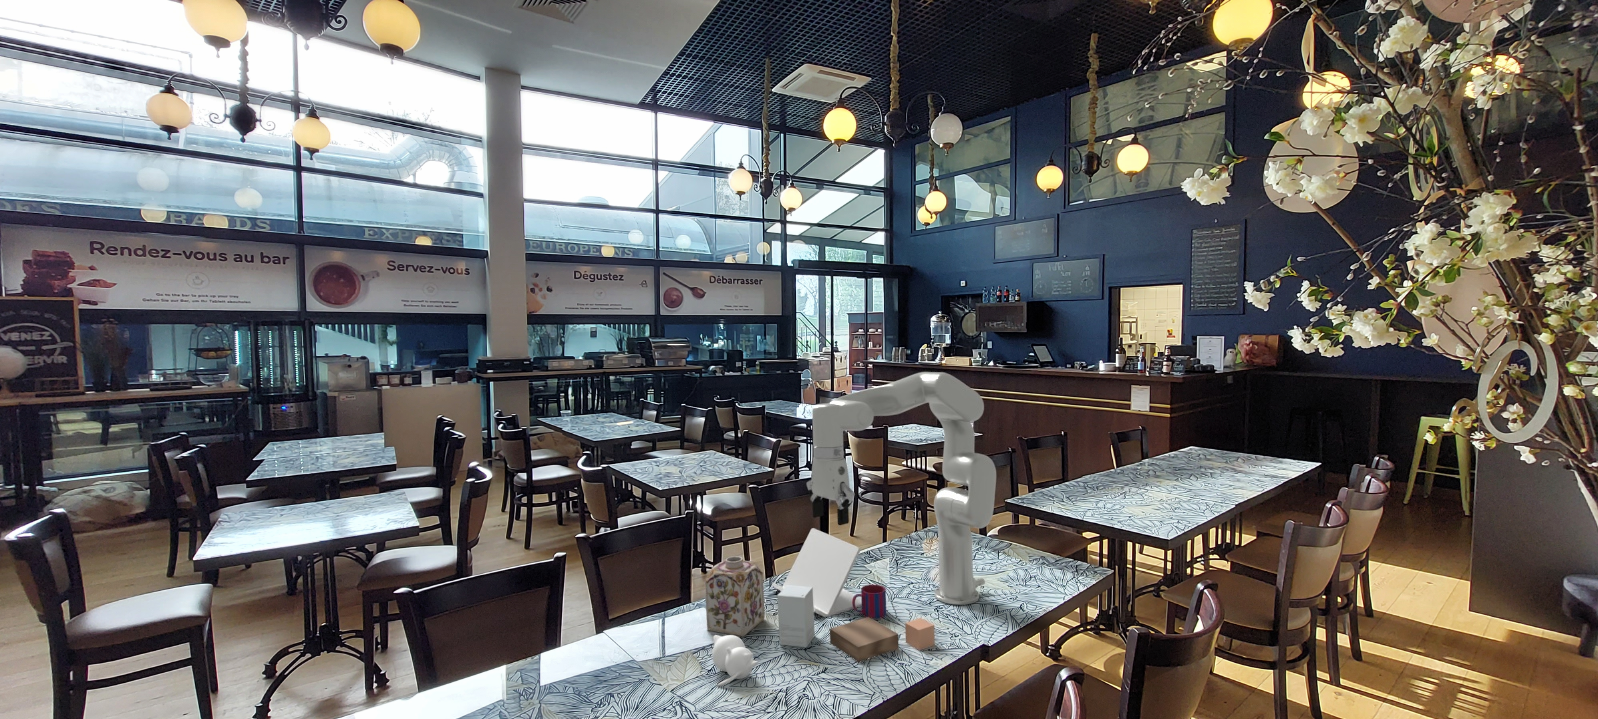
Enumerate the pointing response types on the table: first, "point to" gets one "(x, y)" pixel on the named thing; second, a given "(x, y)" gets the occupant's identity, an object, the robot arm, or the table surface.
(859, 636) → the walnut block
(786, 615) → the supplement box
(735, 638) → the cat figurine
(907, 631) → the terracotta cube
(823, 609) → the tablet stand
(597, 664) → the table surface
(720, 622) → the decorative jar
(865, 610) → the mug
